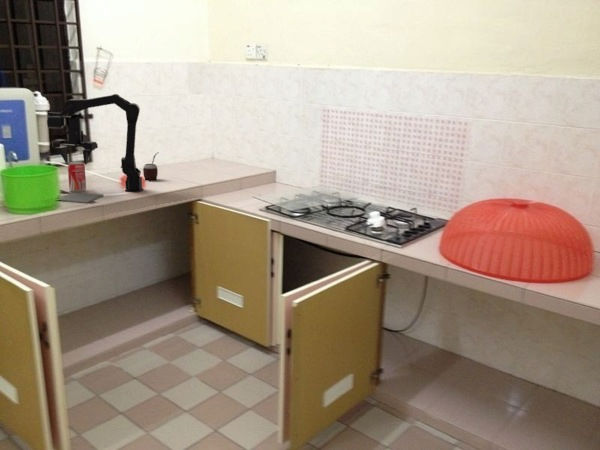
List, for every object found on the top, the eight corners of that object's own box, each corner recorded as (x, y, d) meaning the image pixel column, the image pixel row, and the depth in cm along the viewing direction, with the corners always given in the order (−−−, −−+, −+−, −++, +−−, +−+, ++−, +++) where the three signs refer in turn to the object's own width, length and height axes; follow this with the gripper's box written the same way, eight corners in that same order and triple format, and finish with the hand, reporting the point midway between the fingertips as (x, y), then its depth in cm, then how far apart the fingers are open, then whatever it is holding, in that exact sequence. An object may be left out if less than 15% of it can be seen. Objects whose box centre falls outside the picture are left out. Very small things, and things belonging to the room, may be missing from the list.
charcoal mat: (103, 195, 242) (103, 194, 242) (86, 203, 229) (86, 201, 229) (74, 193, 244) (73, 191, 244) (55, 200, 231) (55, 199, 230)
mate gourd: (143, 178, 280) (142, 149, 276) (159, 178, 282) (159, 149, 278) (143, 181, 273) (142, 151, 269) (159, 181, 275) (158, 152, 271)
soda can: (89, 189, 252) (87, 161, 248) (81, 193, 245) (79, 164, 241) (74, 188, 253) (72, 160, 249) (66, 191, 246) (64, 163, 242)
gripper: (102, 128, 247) (104, 162, 252) (64, 125, 250) (67, 159, 254) (90, 130, 237) (92, 166, 241) (50, 127, 239) (53, 163, 244)
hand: (76, 163), depth 245 cm, fingers open, 9 cm apart
